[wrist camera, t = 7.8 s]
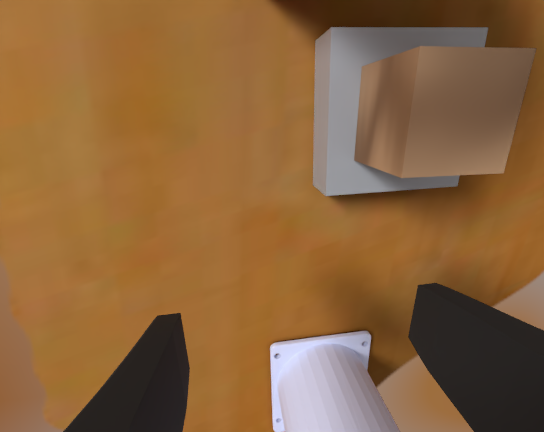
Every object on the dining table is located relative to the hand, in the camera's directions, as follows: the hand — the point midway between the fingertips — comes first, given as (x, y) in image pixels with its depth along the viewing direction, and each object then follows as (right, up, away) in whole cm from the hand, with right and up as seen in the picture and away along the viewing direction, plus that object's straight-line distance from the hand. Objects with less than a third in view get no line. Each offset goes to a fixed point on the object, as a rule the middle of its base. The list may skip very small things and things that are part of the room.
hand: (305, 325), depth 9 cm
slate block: (+5, +9, +9) cm, 14 cm away
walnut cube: (+6, +9, +6) cm, 12 cm away
